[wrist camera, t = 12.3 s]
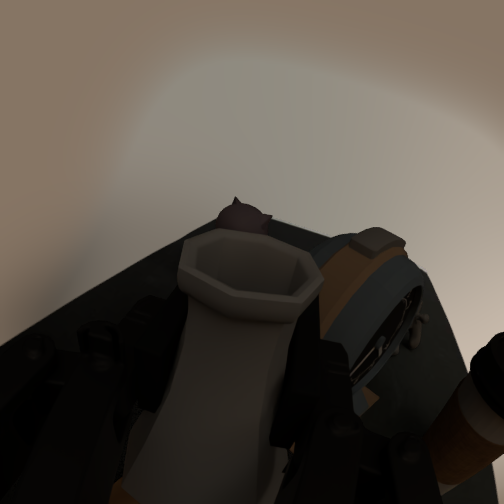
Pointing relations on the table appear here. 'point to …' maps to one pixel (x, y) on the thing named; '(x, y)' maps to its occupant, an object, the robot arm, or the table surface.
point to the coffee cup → (470, 420)
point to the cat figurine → (243, 218)
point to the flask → (224, 375)
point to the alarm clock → (366, 301)
